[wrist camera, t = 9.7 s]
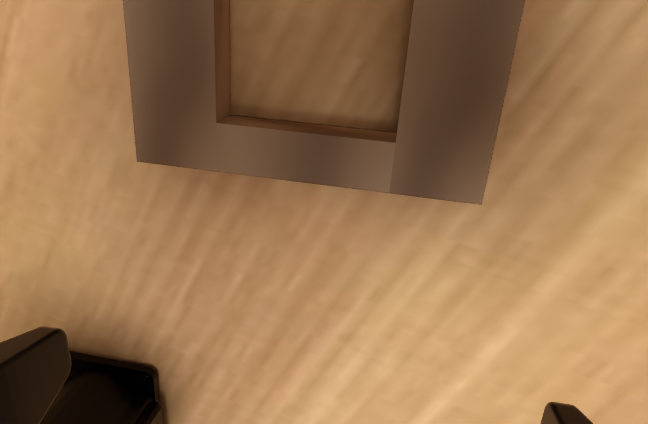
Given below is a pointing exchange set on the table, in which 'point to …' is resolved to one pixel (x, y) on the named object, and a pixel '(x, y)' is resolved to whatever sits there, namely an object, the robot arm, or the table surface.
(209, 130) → the board
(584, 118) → the table surface
